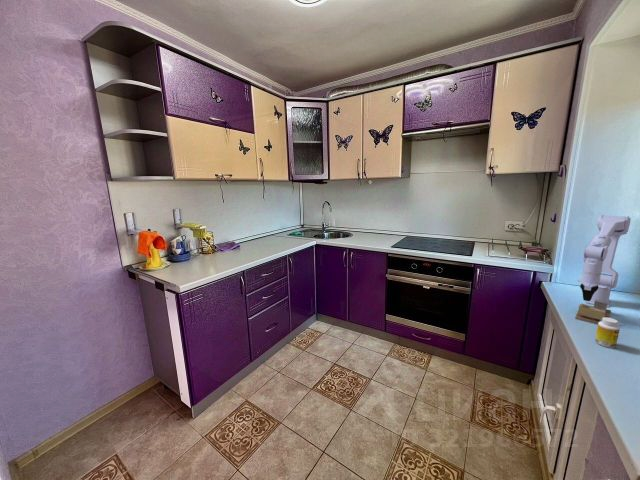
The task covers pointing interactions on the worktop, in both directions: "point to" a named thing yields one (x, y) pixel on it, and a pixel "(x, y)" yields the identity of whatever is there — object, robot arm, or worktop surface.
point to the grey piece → (600, 305)
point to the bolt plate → (589, 319)
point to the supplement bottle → (607, 332)
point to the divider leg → (591, 312)
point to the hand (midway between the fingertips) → (586, 300)
